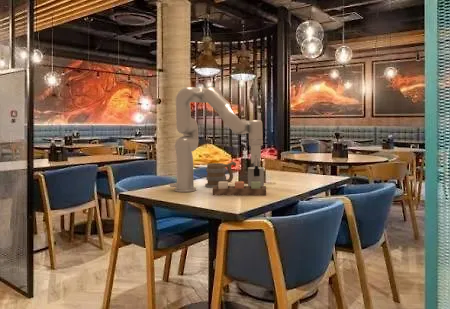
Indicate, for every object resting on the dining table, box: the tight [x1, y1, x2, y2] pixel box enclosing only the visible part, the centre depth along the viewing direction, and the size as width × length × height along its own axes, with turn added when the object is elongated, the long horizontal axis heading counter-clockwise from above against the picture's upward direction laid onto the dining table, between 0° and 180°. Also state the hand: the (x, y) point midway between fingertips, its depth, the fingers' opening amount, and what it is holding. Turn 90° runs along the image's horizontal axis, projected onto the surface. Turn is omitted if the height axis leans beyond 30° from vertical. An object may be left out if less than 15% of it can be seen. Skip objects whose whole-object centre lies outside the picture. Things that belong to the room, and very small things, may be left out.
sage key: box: [251, 181, 260, 189], centre depth 226 cm, size 5×5×4 cm
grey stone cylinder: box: [247, 166, 265, 186], centre depth 244 cm, size 10×10×12 cm
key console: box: [211, 185, 267, 196], centre depth 227 cm, size 29×10×4 cm, turn 86°
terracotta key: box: [234, 180, 245, 189], centre depth 227 cm, size 5×5×4 cm
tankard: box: [204, 161, 237, 189], centre depth 253 cm, size 20×13×15 cm, turn 112°
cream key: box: [218, 181, 229, 188], centre depth 227 cm, size 5×5×4 cm
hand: (256, 176), depth 225 cm, fingers closed
